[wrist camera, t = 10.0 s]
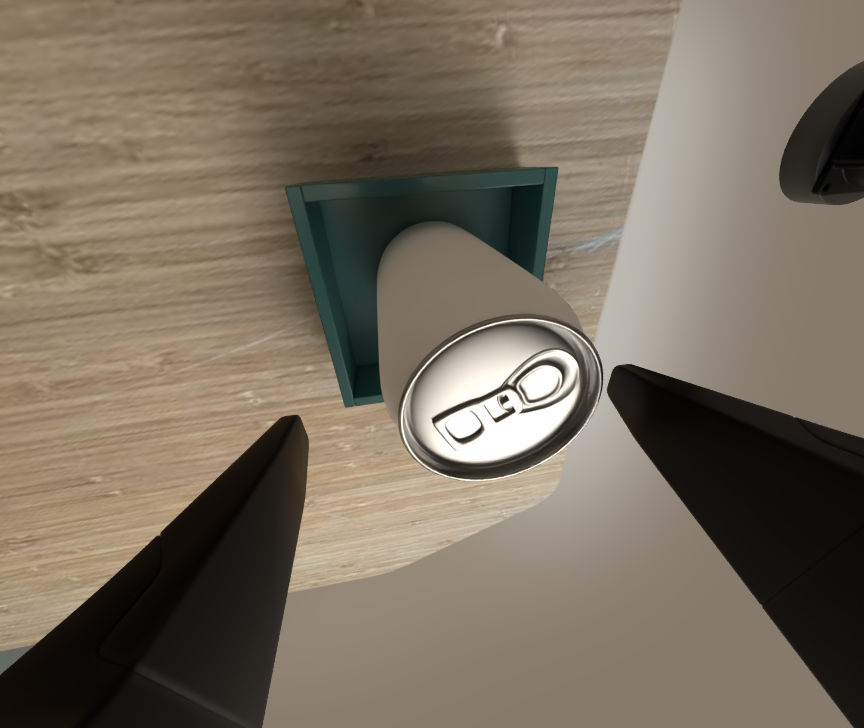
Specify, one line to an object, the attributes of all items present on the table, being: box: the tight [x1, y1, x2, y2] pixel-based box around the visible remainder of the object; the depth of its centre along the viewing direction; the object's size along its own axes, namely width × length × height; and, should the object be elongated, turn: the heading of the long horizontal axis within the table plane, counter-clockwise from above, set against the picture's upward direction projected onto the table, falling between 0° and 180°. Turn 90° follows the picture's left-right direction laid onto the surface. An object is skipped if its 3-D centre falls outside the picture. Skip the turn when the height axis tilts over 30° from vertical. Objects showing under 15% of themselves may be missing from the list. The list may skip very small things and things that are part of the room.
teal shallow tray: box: [285, 167, 558, 407], centre depth 17 cm, size 11×11×4 cm
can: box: [377, 221, 603, 481], centre depth 13 cm, size 6×6×12 cm
